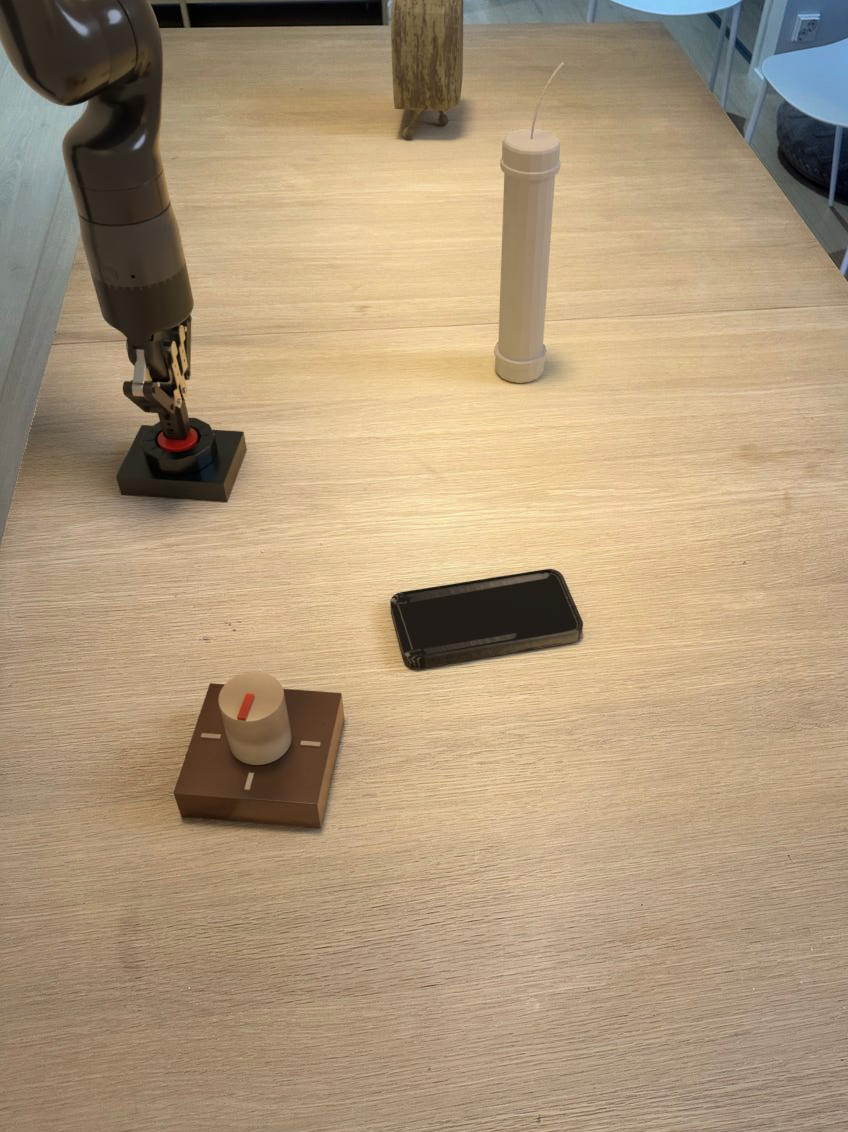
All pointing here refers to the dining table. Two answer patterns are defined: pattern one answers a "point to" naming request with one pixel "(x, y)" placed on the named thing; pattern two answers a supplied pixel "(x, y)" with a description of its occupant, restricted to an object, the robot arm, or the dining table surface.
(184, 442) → the button
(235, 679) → the dial
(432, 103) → the tabletop clock
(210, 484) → the button block
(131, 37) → the robot arm
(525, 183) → the dynamite stick
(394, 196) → the dining table surface
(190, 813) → the panel
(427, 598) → the phone
